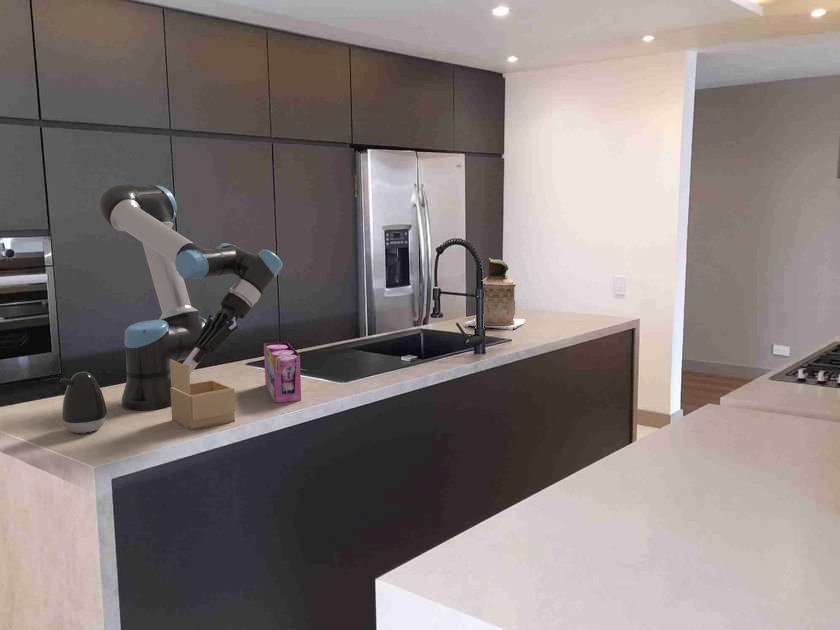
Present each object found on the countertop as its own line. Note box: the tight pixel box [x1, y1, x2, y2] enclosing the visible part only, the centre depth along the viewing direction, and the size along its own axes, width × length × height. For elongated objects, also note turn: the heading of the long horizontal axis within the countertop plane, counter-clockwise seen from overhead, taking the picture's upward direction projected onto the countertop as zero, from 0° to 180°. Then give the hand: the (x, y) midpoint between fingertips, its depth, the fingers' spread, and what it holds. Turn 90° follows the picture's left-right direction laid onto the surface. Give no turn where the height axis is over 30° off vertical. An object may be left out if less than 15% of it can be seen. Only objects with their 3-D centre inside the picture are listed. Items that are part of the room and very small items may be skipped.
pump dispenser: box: [59, 371, 108, 434], centre depth 180 cm, size 10×10×15 cm
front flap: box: [170, 360, 191, 394], centre depth 183 cm, size 11×7×1 cm
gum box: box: [263, 341, 302, 403], centre depth 216 cm, size 24×8×14 cm, turn 20°
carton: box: [170, 379, 236, 432], centre depth 189 cm, size 13×12×9 cm
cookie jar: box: [464, 257, 526, 331], centre depth 339 cm, size 25×25×32 cm
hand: (184, 370), depth 184 cm, fingers closed
